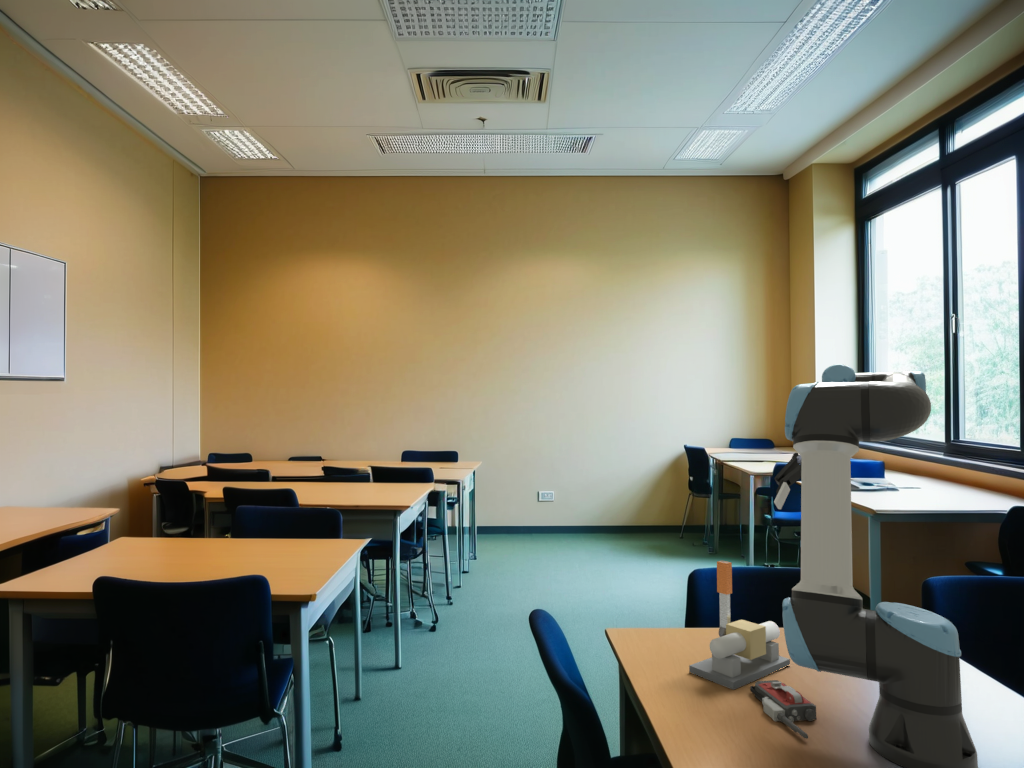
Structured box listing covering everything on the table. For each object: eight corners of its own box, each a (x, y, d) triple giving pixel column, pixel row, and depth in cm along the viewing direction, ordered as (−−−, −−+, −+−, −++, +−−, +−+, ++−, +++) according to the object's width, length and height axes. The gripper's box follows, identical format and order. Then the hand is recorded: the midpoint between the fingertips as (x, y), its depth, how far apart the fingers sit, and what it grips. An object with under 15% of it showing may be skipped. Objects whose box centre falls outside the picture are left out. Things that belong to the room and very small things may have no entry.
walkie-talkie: (740, 695, 125) (801, 745, 105) (739, 673, 125) (800, 719, 105) (779, 692, 126) (847, 742, 107) (779, 670, 127) (846, 716, 107)
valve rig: (746, 651, 148) (745, 609, 149) (790, 665, 139) (789, 621, 140) (689, 672, 135) (688, 626, 136) (733, 689, 126) (732, 640, 127)
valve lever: (724, 635, 143) (722, 560, 144) (733, 639, 140) (732, 562, 142) (716, 638, 141) (715, 561, 142) (726, 641, 139) (725, 563, 140)
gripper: (881, 453, 149) (853, 524, 139) (792, 450, 167) (761, 512, 157) (871, 432, 146) (841, 502, 136) (781, 430, 165) (749, 493, 154)
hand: (798, 508), depth 146 cm, fingers open, 10 cm apart
